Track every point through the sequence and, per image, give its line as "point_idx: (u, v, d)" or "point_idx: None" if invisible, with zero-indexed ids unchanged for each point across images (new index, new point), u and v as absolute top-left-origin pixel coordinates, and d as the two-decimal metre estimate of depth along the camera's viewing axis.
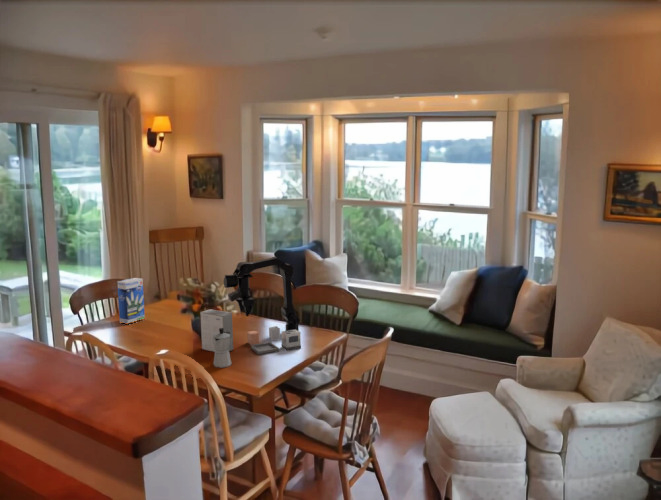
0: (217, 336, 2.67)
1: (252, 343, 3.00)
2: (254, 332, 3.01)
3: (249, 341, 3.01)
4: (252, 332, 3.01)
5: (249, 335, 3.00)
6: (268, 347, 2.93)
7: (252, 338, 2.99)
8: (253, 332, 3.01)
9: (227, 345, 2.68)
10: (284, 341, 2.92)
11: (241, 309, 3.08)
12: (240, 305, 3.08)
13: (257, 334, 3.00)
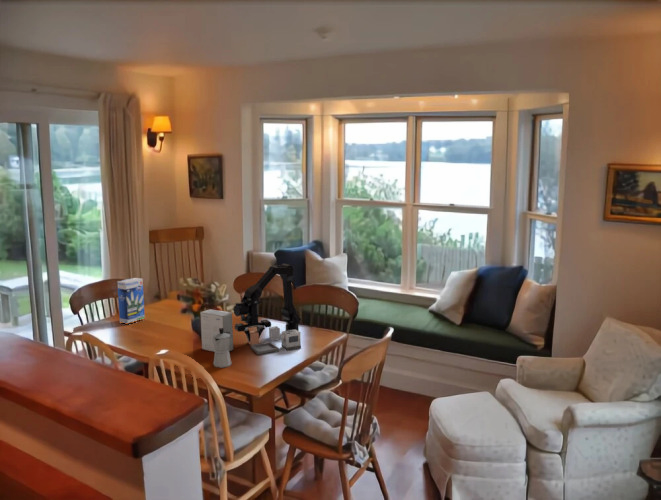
0: (217, 336, 2.67)
1: (252, 343, 3.00)
2: (254, 332, 3.01)
3: None
4: (252, 332, 3.01)
5: None
6: (268, 347, 2.93)
7: (252, 338, 2.99)
8: (253, 332, 3.01)
9: (227, 345, 2.68)
10: (284, 341, 2.92)
11: None
12: None
13: (257, 334, 3.00)
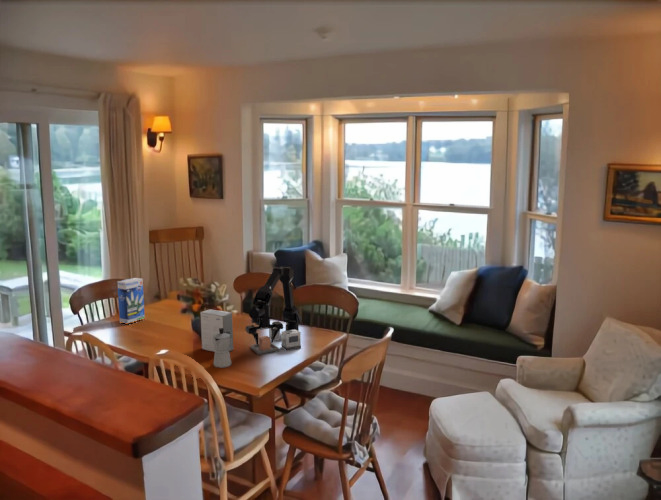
0: (217, 336, 2.67)
1: (264, 349, 2.89)
2: (266, 337, 2.90)
3: (260, 347, 2.90)
4: (264, 337, 2.90)
5: (260, 340, 2.89)
6: None
7: (264, 344, 2.88)
8: (265, 337, 2.90)
9: (227, 345, 2.68)
10: (284, 341, 2.92)
11: (271, 339, 2.93)
12: (271, 335, 2.93)
13: (269, 339, 2.89)
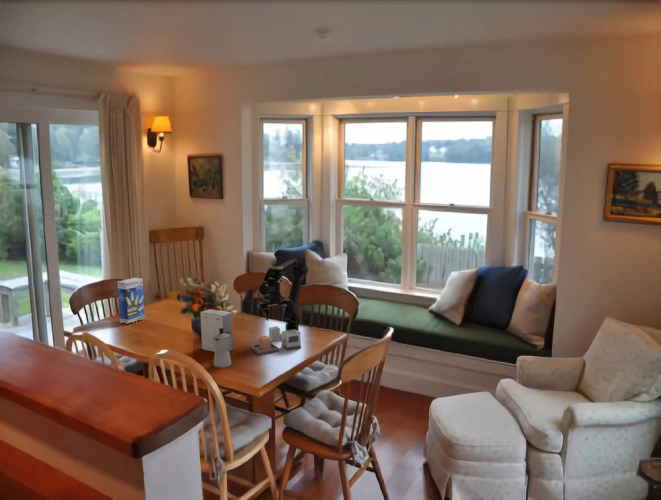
0: (217, 336, 2.67)
1: (264, 349, 2.89)
2: (266, 337, 2.90)
3: (260, 347, 2.90)
4: (264, 337, 2.90)
5: (260, 340, 2.89)
6: None
7: (264, 344, 2.88)
8: (265, 337, 2.90)
9: (227, 345, 2.68)
10: (284, 341, 2.92)
11: (282, 315, 3.06)
12: (282, 311, 3.06)
13: (269, 339, 2.89)
